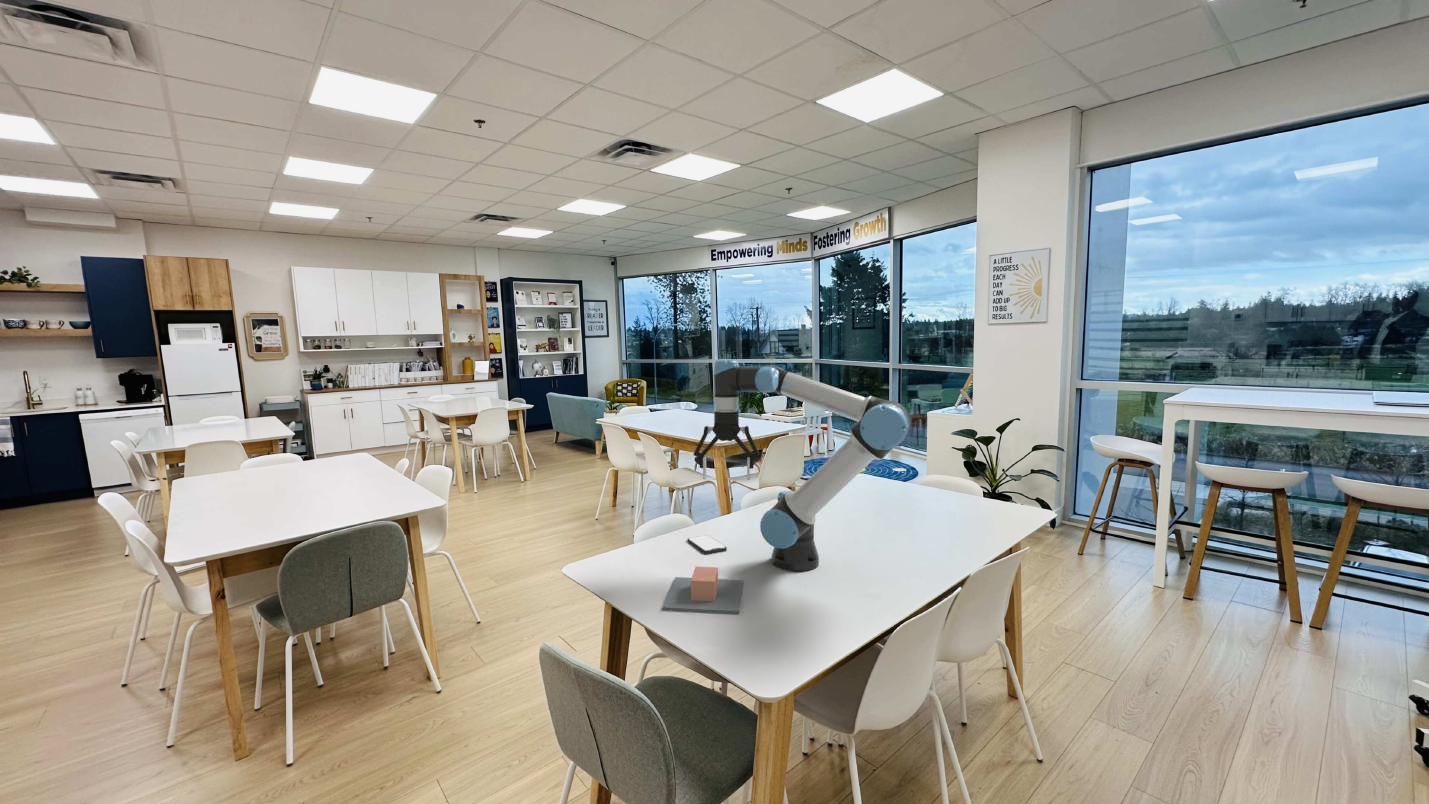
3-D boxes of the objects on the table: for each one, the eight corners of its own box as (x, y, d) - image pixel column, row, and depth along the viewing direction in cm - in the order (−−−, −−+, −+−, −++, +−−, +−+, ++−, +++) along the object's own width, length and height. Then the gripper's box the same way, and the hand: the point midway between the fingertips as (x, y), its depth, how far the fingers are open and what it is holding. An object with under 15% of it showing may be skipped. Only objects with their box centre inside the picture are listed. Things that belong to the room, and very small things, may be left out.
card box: (714, 601, 149) (714, 581, 149) (690, 600, 150) (690, 580, 149) (718, 586, 159) (718, 567, 159) (695, 585, 160) (695, 566, 159)
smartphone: (685, 542, 200) (704, 556, 186) (685, 538, 200) (704, 551, 186) (708, 538, 204) (728, 552, 190) (708, 534, 204) (728, 547, 190)
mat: (742, 582, 163) (742, 580, 163) (738, 614, 144) (738, 611, 144) (675, 579, 165) (675, 577, 165) (662, 610, 146) (662, 607, 146)
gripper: (766, 409, 174) (766, 476, 176) (687, 409, 175) (687, 475, 177) (767, 411, 166) (767, 481, 168) (684, 411, 168) (685, 480, 170)
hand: (726, 478), depth 173 cm, fingers open, 13 cm apart
